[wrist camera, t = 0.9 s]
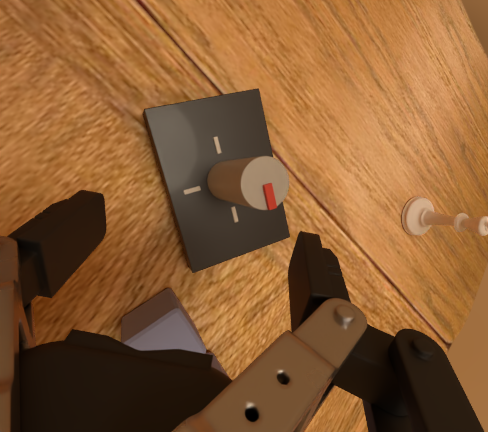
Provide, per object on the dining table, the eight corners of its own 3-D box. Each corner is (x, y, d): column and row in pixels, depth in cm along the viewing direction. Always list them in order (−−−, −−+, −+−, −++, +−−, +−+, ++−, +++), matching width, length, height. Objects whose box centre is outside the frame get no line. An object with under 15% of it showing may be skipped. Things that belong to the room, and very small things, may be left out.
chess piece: (414, 242, 39) (504, 264, 30) (395, 218, 37) (485, 232, 28) (435, 213, 40) (529, 226, 30) (417, 188, 38) (512, 193, 29)
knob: (202, 166, 25) (236, 163, 18) (239, 156, 26) (286, 149, 19) (212, 204, 26) (249, 217, 19) (247, 194, 27) (296, 202, 20)
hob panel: (142, 113, 25) (144, 108, 23) (250, 93, 28) (259, 87, 26) (188, 266, 28) (193, 273, 26) (280, 233, 31) (291, 237, 29)
